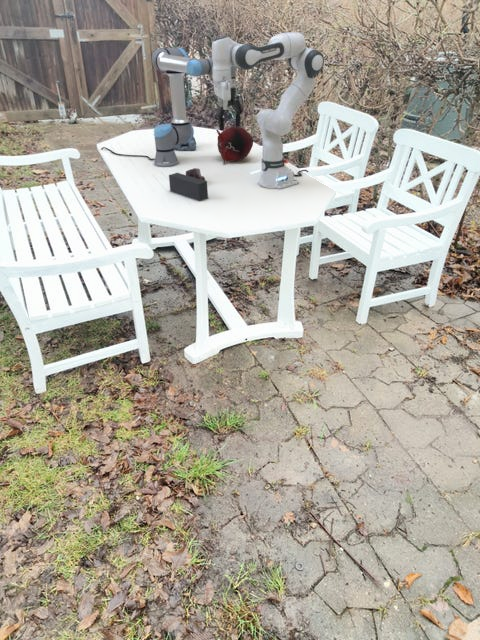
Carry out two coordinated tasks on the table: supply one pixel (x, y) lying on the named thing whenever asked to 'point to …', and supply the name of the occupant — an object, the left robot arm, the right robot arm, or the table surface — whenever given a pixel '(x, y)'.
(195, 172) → the rock
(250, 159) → the table surface
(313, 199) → the table surface
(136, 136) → the table surface
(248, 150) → the dark red rounded piece
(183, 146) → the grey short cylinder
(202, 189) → the box
